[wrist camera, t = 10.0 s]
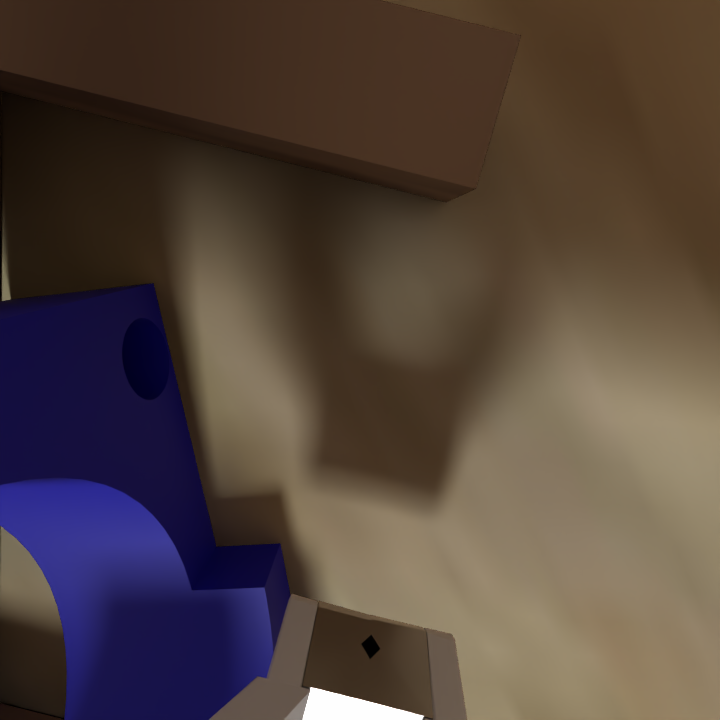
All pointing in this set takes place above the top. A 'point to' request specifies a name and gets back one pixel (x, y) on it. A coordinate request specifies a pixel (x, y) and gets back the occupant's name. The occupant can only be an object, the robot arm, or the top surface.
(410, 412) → the top surface
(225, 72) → the bracket
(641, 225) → the top surface
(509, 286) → the top surface
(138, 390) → the cable clip
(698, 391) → the top surface
